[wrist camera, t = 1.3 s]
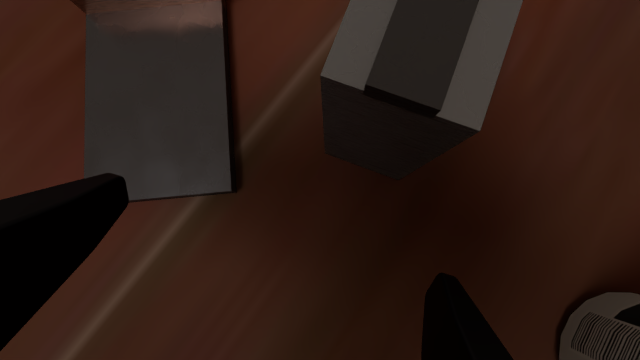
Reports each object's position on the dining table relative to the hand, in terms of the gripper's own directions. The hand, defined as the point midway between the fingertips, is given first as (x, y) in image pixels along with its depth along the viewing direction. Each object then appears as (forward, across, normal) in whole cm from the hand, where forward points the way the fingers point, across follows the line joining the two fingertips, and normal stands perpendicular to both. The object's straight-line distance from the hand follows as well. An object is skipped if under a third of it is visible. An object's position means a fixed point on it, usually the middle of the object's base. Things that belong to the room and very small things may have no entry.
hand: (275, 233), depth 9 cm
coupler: (+15, +14, +3) cm, 21 cm away
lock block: (+15, -3, +3) cm, 16 cm away
